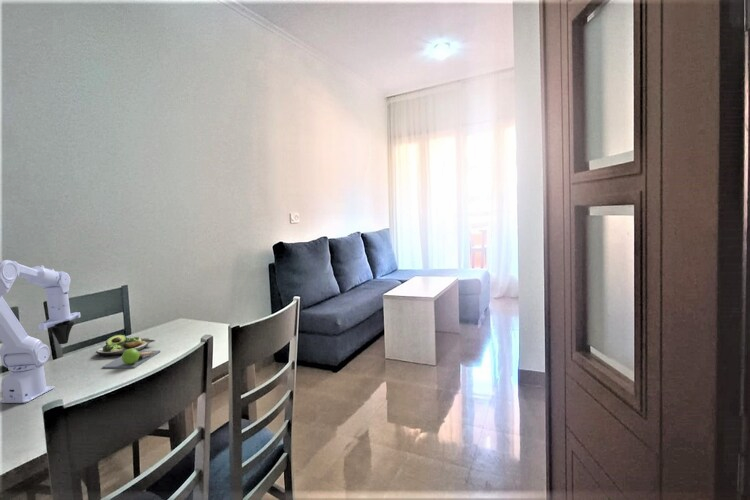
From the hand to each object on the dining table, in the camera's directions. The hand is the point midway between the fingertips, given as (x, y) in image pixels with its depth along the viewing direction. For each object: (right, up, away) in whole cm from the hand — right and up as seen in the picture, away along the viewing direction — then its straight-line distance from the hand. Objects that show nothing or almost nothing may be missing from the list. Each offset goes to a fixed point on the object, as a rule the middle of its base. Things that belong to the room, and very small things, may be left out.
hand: (63, 343), depth 130 cm
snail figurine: (+21, -5, +2) cm, 22 cm away
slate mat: (+18, -9, +10) cm, 22 cm away
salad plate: (+7, -8, +22) cm, 24 cm away
